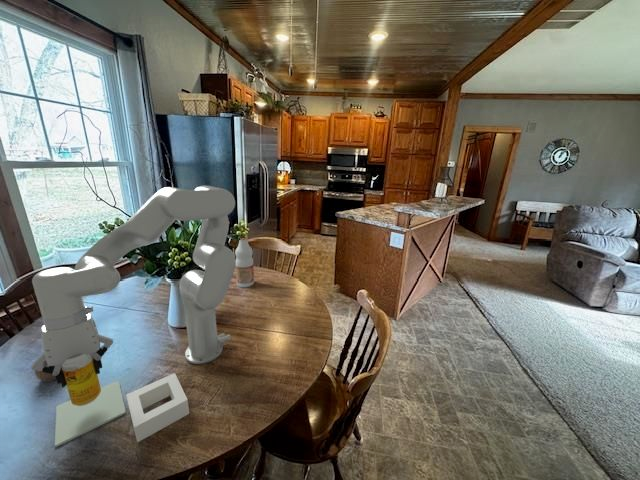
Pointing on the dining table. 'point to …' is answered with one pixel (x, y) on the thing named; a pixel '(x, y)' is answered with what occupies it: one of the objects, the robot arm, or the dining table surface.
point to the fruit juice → (244, 264)
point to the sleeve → (161, 414)
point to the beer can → (81, 379)
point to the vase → (44, 375)
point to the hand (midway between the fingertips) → (81, 376)
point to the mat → (88, 414)
